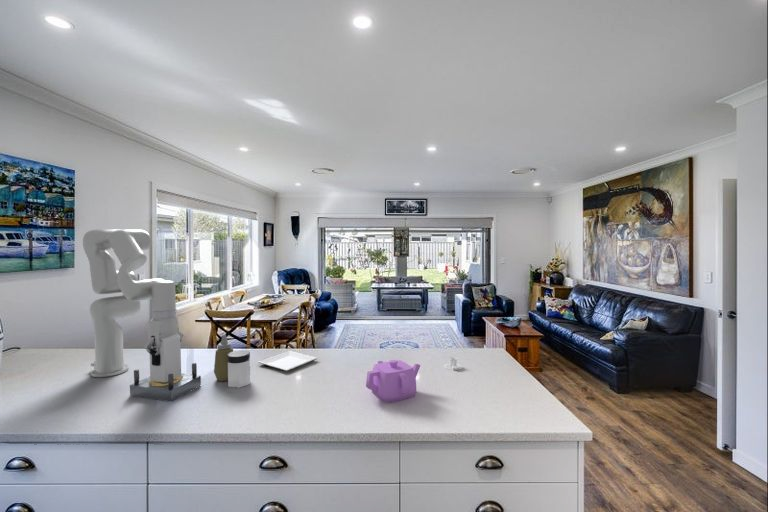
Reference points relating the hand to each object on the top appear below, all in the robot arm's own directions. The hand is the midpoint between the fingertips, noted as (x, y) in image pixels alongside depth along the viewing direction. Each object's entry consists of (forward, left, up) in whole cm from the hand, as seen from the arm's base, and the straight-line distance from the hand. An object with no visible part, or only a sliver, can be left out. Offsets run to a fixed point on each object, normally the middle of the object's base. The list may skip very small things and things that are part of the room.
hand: (165, 361), depth 136 cm
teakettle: (+82, +20, -11) cm, 85 cm away
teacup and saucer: (+100, +51, -12) cm, 113 cm away
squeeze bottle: (+14, +15, -11) cm, 23 cm away
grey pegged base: (0, 0, -11) cm, 11 cm away
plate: (+29, +38, -12) cm, 49 cm away
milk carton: (0, 0, -7) cm, 7 cm away
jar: (+22, +13, -11) cm, 28 cm away
